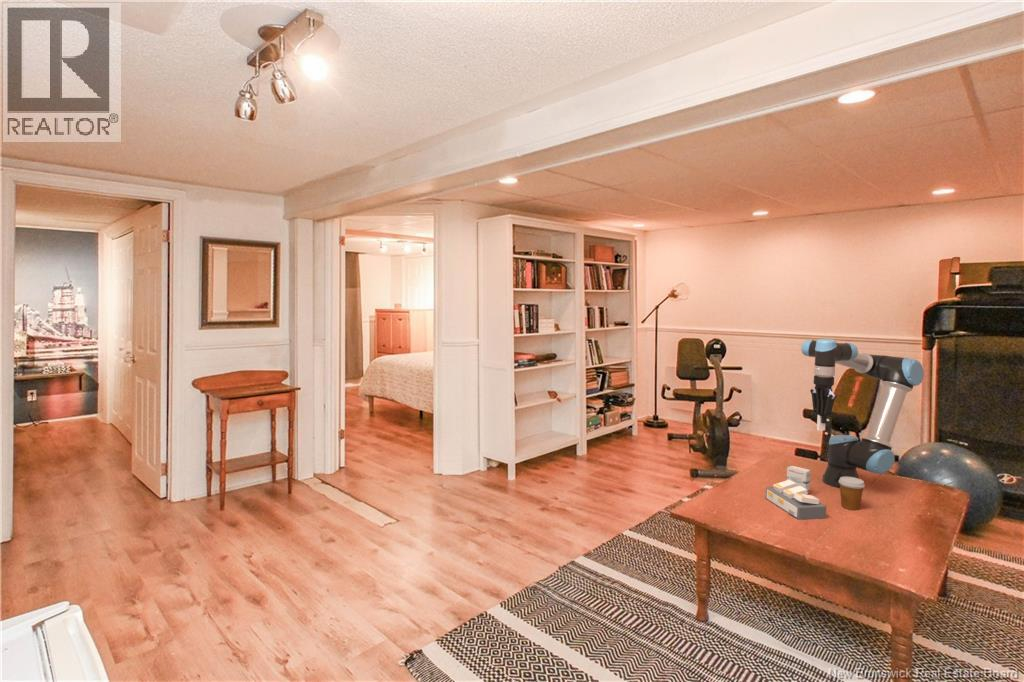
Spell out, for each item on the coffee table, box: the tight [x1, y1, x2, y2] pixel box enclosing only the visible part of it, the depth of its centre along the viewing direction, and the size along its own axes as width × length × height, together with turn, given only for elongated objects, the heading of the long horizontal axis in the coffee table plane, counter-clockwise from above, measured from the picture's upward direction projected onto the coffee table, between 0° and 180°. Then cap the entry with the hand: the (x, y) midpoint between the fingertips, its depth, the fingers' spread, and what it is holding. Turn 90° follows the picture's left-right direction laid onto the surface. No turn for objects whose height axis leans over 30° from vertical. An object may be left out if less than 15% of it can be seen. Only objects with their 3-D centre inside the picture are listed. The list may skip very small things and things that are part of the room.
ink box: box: [786, 465, 812, 495], centre depth 241 cm, size 8×5×12 cm, turn 39°
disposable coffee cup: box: [839, 477, 866, 511], centre depth 226 cm, size 10×10×12 cm
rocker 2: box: [783, 486, 808, 499], centre depth 225 cm, size 8×4×2 cm, turn 97°
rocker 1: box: [772, 479, 797, 493], centre depth 232 cm, size 8×4×2 cm, turn 97°
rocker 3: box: [794, 493, 820, 504], centre depth 218 cm, size 8×4×2 cm, turn 98°
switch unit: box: [765, 486, 827, 521], centre depth 225 cm, size 13×22×6 cm, turn 8°
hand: (820, 430), depth 228 cm, fingers closed
